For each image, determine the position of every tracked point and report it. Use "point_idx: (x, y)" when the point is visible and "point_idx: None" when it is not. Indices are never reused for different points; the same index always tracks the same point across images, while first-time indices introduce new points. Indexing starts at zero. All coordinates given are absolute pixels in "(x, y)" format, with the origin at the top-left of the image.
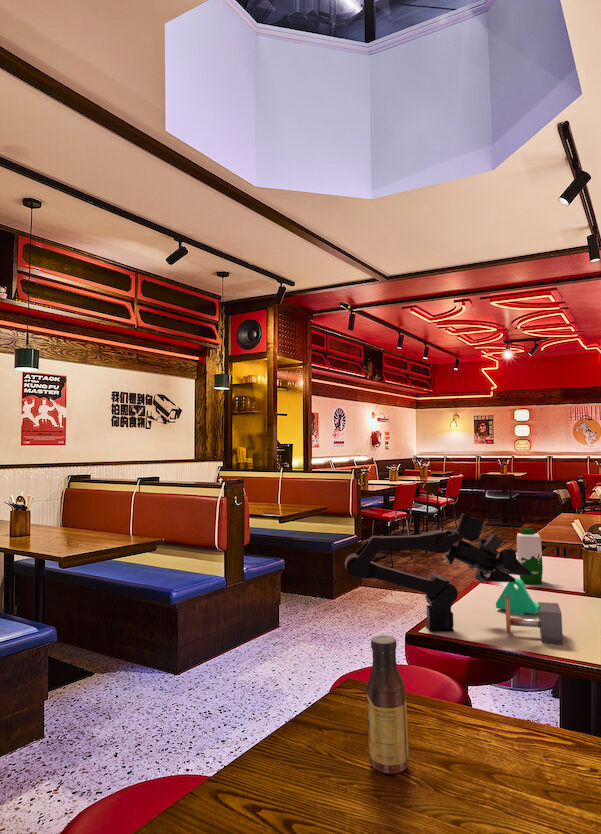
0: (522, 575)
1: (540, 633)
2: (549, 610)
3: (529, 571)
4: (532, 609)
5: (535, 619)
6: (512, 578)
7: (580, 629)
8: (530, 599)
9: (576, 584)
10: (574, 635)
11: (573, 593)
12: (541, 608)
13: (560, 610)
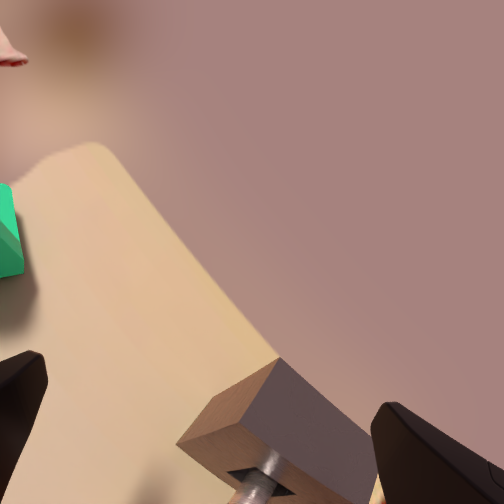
0: (386, 497)
1: (224, 478)
2: (360, 470)
3: (408, 416)
4: (12, 266)
5: (260, 495)
6: (30, 382)
7: (202, 308)
8: (3, 233)
9: (6, 37)
10: (243, 375)
11: (16, 66)
12: (335, 484)
13: (365, 432)
